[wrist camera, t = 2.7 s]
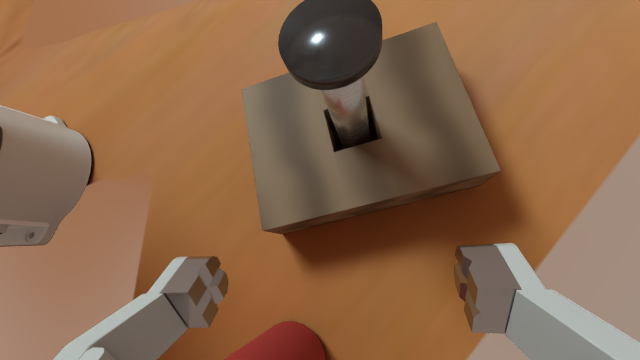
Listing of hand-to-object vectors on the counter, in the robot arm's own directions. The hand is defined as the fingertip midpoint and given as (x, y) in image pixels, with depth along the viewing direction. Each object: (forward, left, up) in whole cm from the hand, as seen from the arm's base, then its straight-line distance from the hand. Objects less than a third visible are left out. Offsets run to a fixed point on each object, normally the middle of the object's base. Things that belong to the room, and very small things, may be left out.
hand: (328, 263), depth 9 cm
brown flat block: (+2, +11, -18) cm, 22 cm away
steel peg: (+2, +11, -18) cm, 22 cm away
